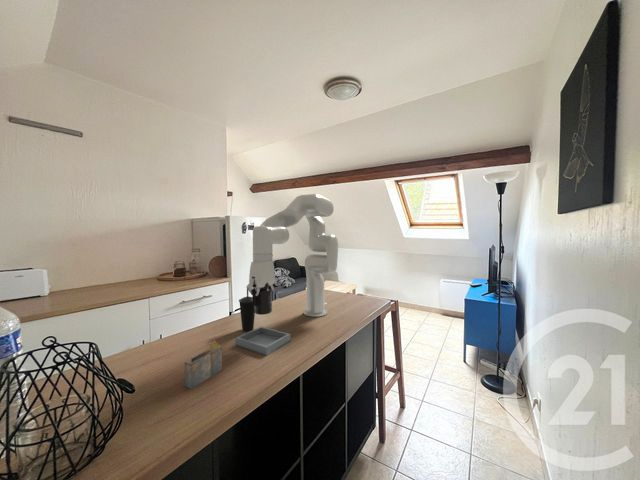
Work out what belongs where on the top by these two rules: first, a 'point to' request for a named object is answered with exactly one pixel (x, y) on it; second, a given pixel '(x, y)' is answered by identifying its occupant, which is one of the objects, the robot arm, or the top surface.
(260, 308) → the supplement bottle
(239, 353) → the top surface
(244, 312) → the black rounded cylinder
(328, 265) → the robot arm
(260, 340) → the tray
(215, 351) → the grey thin box
